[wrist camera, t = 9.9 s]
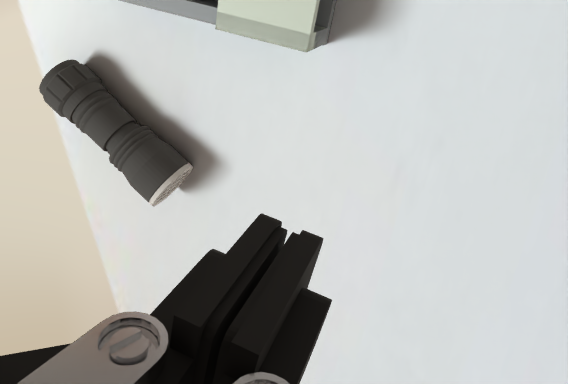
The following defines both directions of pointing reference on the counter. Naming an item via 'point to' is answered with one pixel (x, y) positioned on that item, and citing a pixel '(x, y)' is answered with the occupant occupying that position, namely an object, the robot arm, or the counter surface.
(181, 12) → the toy lathe
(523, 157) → the counter surface
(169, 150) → the flashlight
